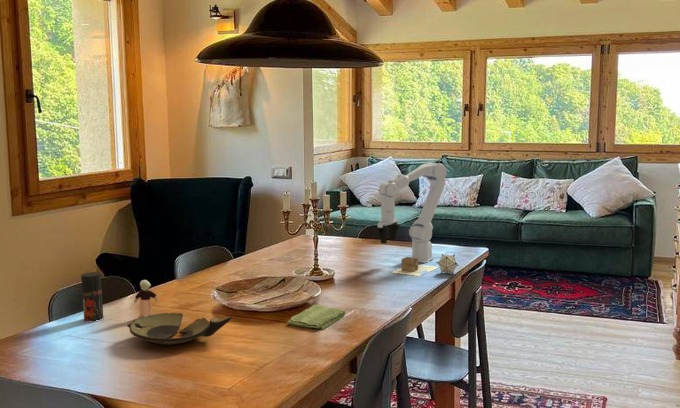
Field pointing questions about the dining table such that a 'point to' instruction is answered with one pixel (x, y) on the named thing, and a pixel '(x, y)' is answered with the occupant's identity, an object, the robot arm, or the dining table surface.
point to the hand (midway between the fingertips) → (388, 241)
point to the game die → (447, 264)
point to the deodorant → (92, 296)
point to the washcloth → (317, 317)
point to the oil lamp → (173, 328)
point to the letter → (415, 273)
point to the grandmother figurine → (145, 299)
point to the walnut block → (409, 264)
